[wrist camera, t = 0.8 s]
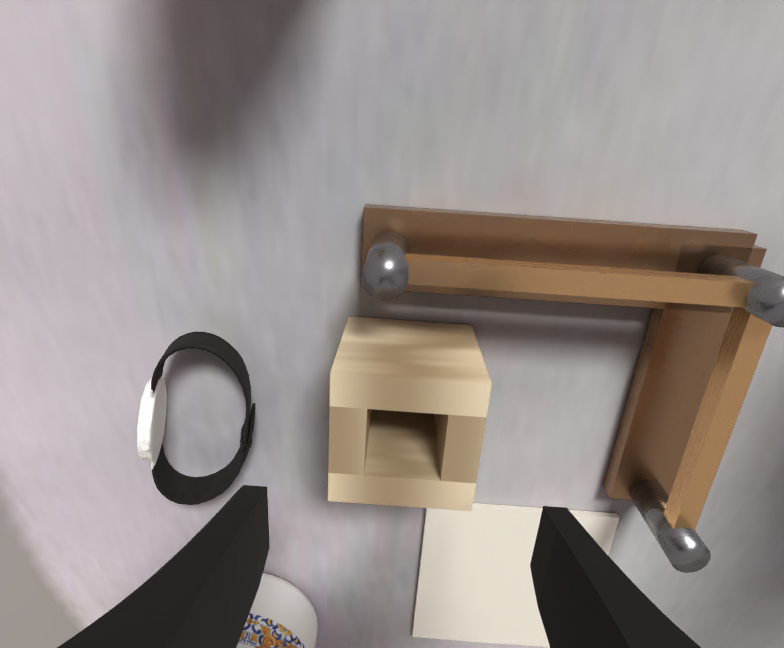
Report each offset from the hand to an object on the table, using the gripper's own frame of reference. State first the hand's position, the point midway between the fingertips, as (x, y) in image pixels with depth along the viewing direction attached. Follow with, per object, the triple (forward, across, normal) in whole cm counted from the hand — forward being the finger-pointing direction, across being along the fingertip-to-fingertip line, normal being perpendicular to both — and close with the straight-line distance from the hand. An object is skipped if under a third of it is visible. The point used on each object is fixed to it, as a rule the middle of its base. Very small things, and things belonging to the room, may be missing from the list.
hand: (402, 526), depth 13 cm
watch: (+9, +8, +2) cm, 13 cm away
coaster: (+8, -6, +11) cm, 15 cm away
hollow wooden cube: (+8, 0, 0) cm, 9 cm away
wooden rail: (+8, -5, -1) cm, 10 cm away
